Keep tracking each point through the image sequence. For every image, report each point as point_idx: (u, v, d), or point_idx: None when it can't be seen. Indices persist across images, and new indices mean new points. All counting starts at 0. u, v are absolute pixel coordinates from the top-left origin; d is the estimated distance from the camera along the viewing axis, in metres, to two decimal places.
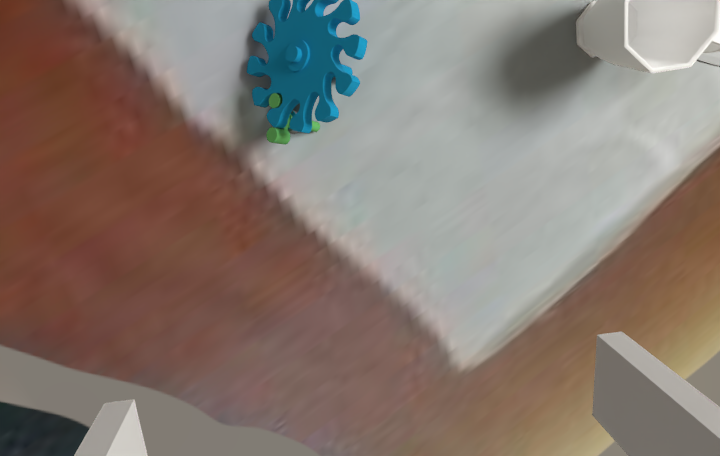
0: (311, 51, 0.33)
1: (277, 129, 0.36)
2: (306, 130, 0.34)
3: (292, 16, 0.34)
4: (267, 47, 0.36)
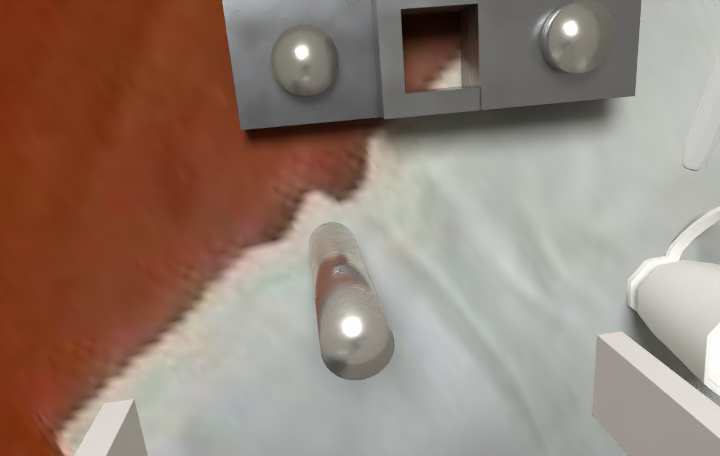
0: None
1: None
2: None
3: None
4: None
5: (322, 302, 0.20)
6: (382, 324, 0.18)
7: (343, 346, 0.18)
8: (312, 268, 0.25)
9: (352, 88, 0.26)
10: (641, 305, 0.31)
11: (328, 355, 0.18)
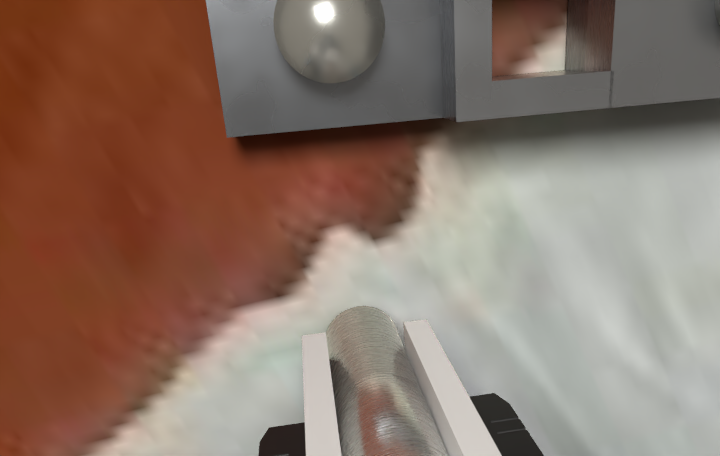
0: None
1: None
2: None
3: None
4: None
5: None
6: None
7: None
8: None
9: (403, 72, 0.16)
10: None
11: None
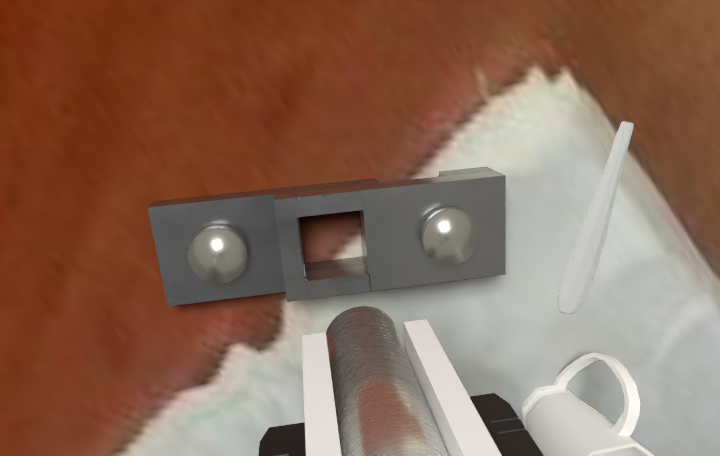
0: None
1: None
2: None
3: None
4: None
5: None
6: None
7: None
8: None
9: (262, 270, 0.30)
10: (529, 432, 0.36)
11: None
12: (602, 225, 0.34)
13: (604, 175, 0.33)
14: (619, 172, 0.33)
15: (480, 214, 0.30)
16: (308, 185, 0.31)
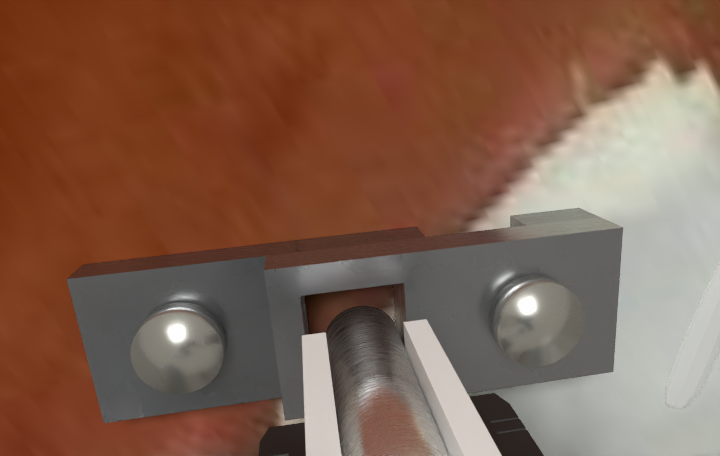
0: None
1: None
2: None
3: None
4: None
5: None
6: None
7: None
8: None
9: (248, 367, 0.20)
10: None
11: None
12: None
13: None
14: None
15: (582, 286, 0.19)
16: (317, 238, 0.21)
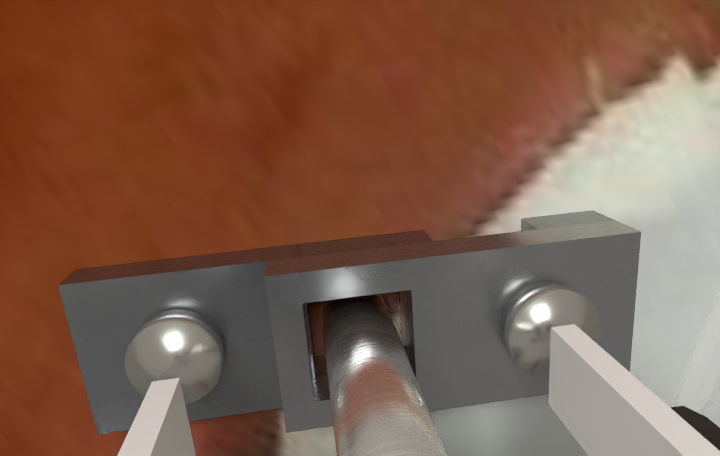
0: None
1: None
2: None
3: None
4: None
5: None
6: None
7: None
8: (328, 365, 0.16)
9: (248, 376, 0.19)
10: None
11: None
12: None
13: None
14: None
15: (597, 293, 0.18)
16: None
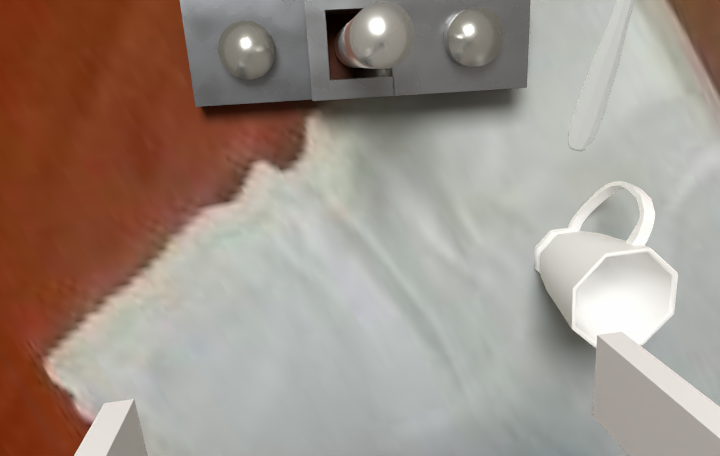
0: None
1: None
2: None
3: None
4: None
5: (352, 20, 0.23)
6: (404, 14, 0.21)
7: (370, 32, 0.21)
8: (339, 37, 0.28)
9: (289, 74, 0.31)
10: (542, 268, 0.37)
11: (357, 40, 0.21)
12: (614, 55, 0.34)
13: (618, 0, 0.33)
14: None
15: (504, 20, 0.30)
16: None
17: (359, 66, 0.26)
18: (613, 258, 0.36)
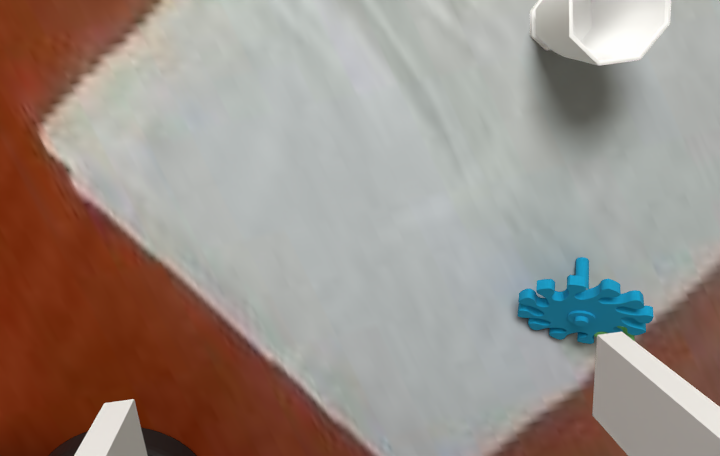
0: (587, 310, 0.40)
1: None
2: (644, 326, 0.41)
3: (545, 310, 0.42)
4: (553, 326, 0.44)
5: None
6: None
7: None
8: None
9: None
10: (537, 23, 0.37)
11: None
12: None
13: None
14: None
15: None
16: None
17: None
18: (607, 3, 0.36)
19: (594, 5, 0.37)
